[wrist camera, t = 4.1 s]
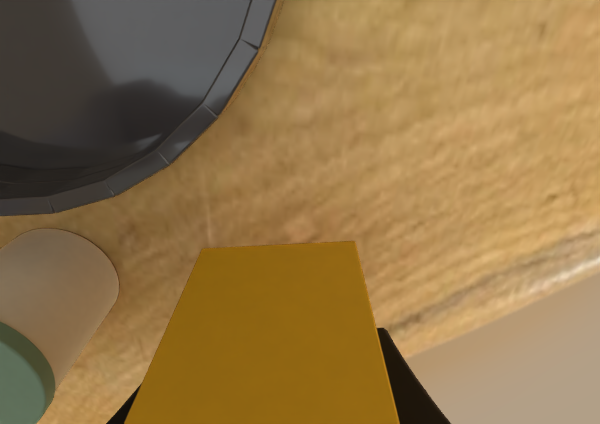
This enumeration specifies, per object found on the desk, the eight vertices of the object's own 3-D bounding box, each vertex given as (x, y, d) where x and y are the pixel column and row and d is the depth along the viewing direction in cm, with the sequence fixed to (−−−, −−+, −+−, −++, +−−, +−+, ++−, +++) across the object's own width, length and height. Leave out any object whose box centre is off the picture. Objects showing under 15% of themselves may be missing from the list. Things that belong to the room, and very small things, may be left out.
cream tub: (134, 319, 18) (67, 436, 13) (27, 324, 18) (-81, 441, 13) (103, 222, 16) (8, 317, 11) (-18, 228, 16) (-169, 324, 11)
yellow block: (355, 386, 13) (392, 644, 8) (230, 391, 13) (178, 649, 8) (355, 240, 11) (411, 466, 5) (201, 247, 11) (99, 476, 5)
